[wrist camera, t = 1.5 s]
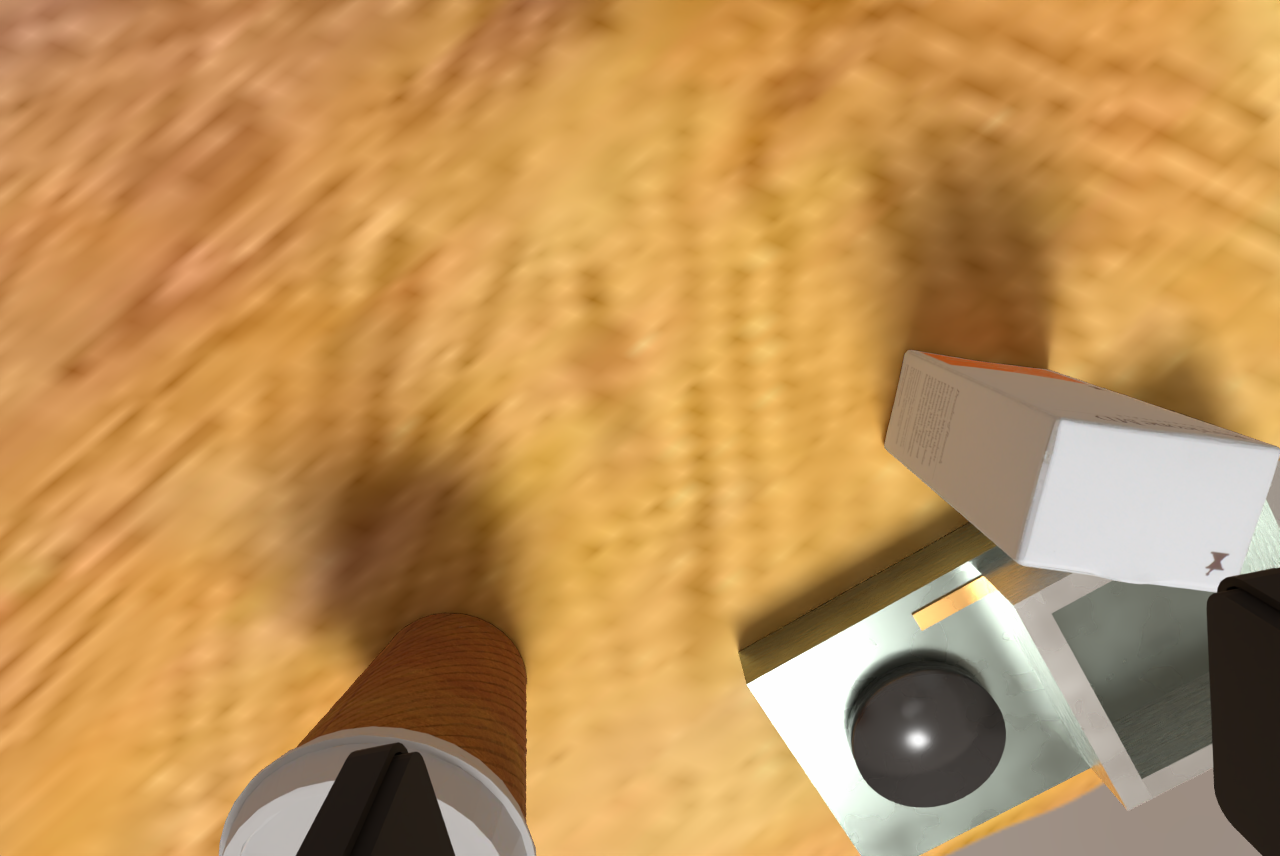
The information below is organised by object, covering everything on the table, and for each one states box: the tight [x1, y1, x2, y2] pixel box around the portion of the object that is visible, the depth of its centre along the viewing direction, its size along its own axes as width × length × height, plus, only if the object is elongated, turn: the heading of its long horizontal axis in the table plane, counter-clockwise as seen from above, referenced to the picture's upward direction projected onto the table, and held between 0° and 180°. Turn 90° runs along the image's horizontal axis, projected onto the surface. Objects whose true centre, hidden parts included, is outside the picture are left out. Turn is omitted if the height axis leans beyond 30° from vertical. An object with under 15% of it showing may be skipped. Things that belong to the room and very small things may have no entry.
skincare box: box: [884, 350, 1280, 593], centre depth 26 cm, size 6×4×12 cm
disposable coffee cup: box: [219, 613, 536, 856], centre depth 29 cm, size 10×10×12 cm
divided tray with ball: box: [739, 410, 1280, 856], centre depth 32 cm, size 20×11×6 cm, turn 122°
